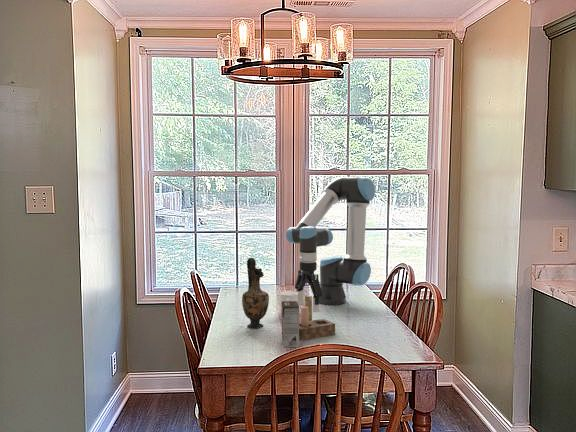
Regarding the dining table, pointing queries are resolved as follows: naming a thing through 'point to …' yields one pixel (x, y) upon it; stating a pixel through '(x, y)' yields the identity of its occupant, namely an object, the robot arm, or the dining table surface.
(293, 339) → the coffee box
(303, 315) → the terracotta peg
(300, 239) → the robot arm
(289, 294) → the mug
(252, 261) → the vase
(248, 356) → the dining table surface
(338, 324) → the dining table surface
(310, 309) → the oak peg
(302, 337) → the hole block
